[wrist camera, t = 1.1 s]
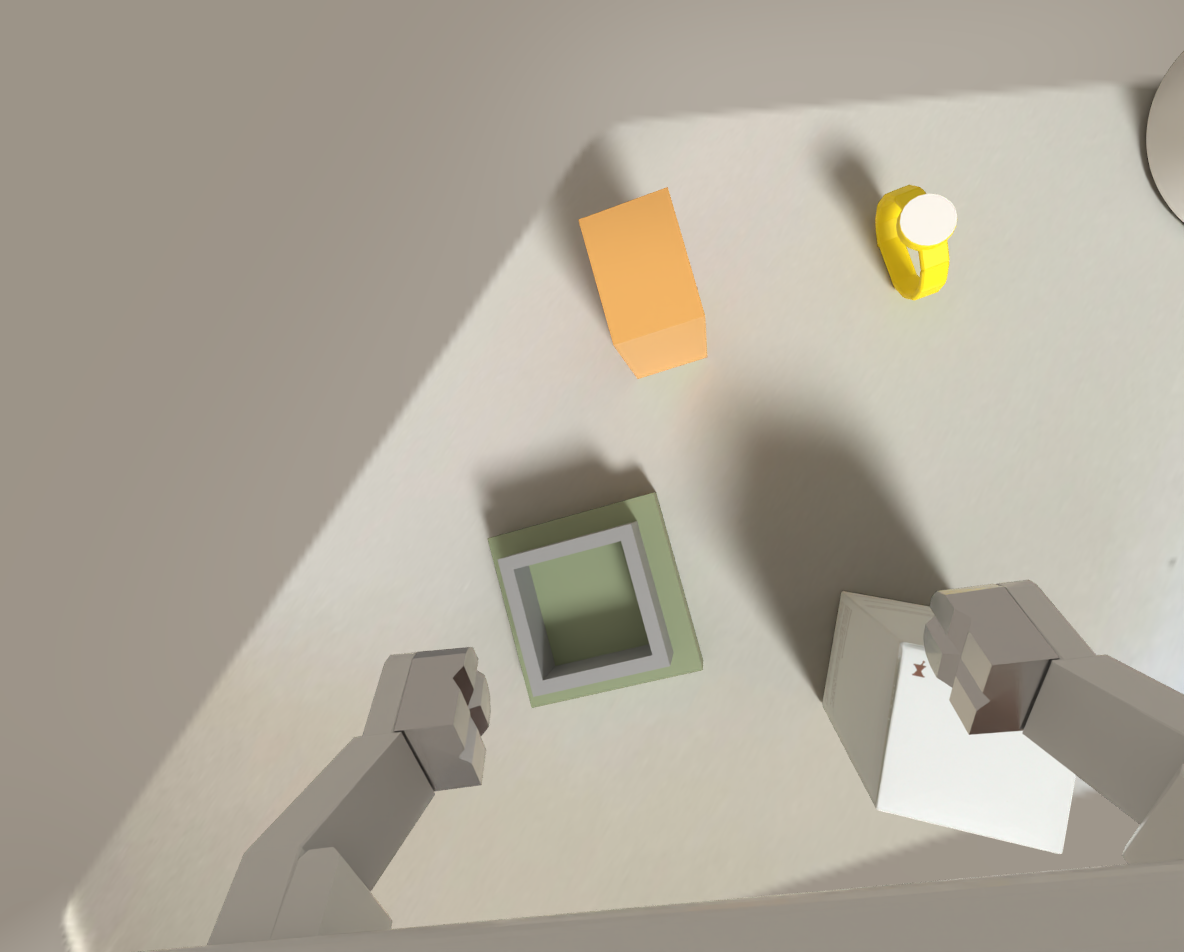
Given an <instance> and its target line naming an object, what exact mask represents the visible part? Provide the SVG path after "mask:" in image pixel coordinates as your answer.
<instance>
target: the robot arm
mask: <svg viewBox="0 0 1184 952" xmlns="http://www.w3.org/2000/svg"><path fill="white" fill-rule="evenodd" d="M1146 145H1147V155H1148V161H1149V166H1150V169H1151V173H1152V176H1153V178H1154V181H1155V183H1156V186H1157V188H1158V190H1159V192H1160V193H1161V195H1162V197H1163V198H1164V200H1165V202H1166V203H1167V204H1168V206H1169V207H1170V208H1171V210H1172V211H1173V212H1174V213H1175V214H1176V215H1177V217H1178V218H1179V219H1181V220H1182V221H1183V222H1184V51H1183V52H1182V53H1181V54H1180V56H1179V57H1178V58H1177V59H1176V60H1175V62H1174V63H1173V64H1172V66H1171V67H1170V69H1169V70H1168V72H1167V73H1166V75H1165V76H1164V78H1163V80H1162V82H1161V83H1160V85H1159V87H1158V90H1157V92H1156V94H1155V97H1154V99H1153V102H1152V105H1151V109H1150V113H1149V117H1148V123H1147V134H1146ZM929 607H930V608H931V610H932V612H933V613H934V615H935V616H934V617H933V618H932V619H931V620H930V621H928V622H927V623H926V624H925V630H924V636H923V640H924V647H925V653H926V656H927V659H928V662H929V664H930V666H931V668H932V670H933V672H934V674H935V676H936V677H937V678H938V679H939V680H941V681H943V682H944V683H946V684H947V685H949V686H950V687H952V691H951V695H950V699H949V701H950V703H951V704H952V706H953V708H954V710H955V711H956V713H957V715H958V717H959V718H960V720H961V722H962V724H963V725H964V727H965V729H966V731H967V732H968V734H969V735H973V734H986V733H1000V732H1013V731H1023V732H1022V734H1024V735H1025V736H1026V737H1027V738H1029V739H1030V740H1031V741H1033V742H1034V743H1035V744H1036V745H1038V746H1039V747H1040V748H1042V749H1043V750H1044V751H1045V752H1047V753H1048V754H1049V755H1051V756H1052V757H1053V758H1055V759H1056V760H1057V761H1058V762H1060V763H1061V764H1062V765H1064V766H1065V767H1066V768H1067V769H1069V770H1070V771H1071V772H1073V773H1074V774H1075V775H1076V776H1078V777H1079V778H1080V779H1082V780H1083V781H1084V782H1086V783H1087V784H1088V785H1089V786H1091V787H1092V788H1093V789H1095V790H1096V791H1097V792H1098V793H1100V794H1101V795H1102V796H1104V797H1105V798H1106V799H1108V800H1109V801H1110V802H1111V803H1113V804H1114V805H1115V806H1117V807H1118V808H1119V809H1121V810H1122V811H1123V812H1124V813H1126V814H1127V815H1128V816H1130V817H1131V818H1132V819H1134V820H1135V821H1136V822H1137V823H1139V824H1140V826H1139V828H1138V829H1137V830H1136V832H1135V833H1134V835H1133V836H1132V838H1131V839H1130V841H1129V842H1128V844H1127V845H1126V847H1125V849H1124V852H1123V854H1122V856H1123V858H1124V859H1125V861H1126V862H1127V864H1123V865H1113V866H1101V867H1089V868H1078V869H1067V870H1056V871H1044V872H1033V873H1021V874H1010V875H998V876H987V877H976V878H965V879H953V880H942V881H930V882H920V883H909V884H908V883H907V884H896V885H885V886H873V887H862V888H850V889H839V890H828V891H816V892H805V893H794V894H782V895H771V896H760V897H748V898H737V899H725V900H714V901H703V902H691V903H680V904H669V905H657V906H646V907H635V908H623V909H612V910H601V911H590V912H578V913H567V914H556V915H544V916H533V917H522V918H511V919H499V920H488V921H477V922H465V923H454V924H443V925H432V926H420V927H409V928H398V929H391V926H392V919H391V918H390V916H389V915H388V913H387V912H386V911H385V909H384V908H383V907H382V906H381V904H380V903H379V902H378V901H377V899H376V898H375V897H374V896H373V895H372V893H371V890H372V889H373V887H374V886H375V884H376V883H377V881H378V880H379V878H380V877H381V875H382V874H383V872H384V871H385V869H386V868H387V866H388V865H389V863H390V862H391V860H392V859H393V857H394V856H395V854H396V853H397V851H398V850H399V848H400V847H401V845H402V844H403V842H404V840H405V839H406V837H407V836H408V834H409V833H410V831H411V830H412V828H413V827H414V825H415V824H416V822H417V821H418V819H419V818H420V816H421V815H422V813H423V812H424V810H425V809H426V807H427V806H428V804H429V803H430V801H431V800H432V798H433V797H434V795H435V792H434V791H440V790H448V789H455V788H463V787H471V786H478V785H482V778H483V770H484V762H485V755H486V748H485V746H484V743H483V741H482V738H481V736H482V735H483V733H484V732H485V731H486V730H487V728H488V727H489V722H490V712H491V710H490V693H489V688H488V683H487V680H486V678H485V675H484V674H482V673H481V672H479V671H477V665H478V657H477V655H476V653H475V650H474V648H473V647H466V648H455V649H444V650H433V651H422V652H414V653H404V654H394V655H390V656H389V658H388V659H387V660H386V662H385V663H384V666H383V669H382V673H381V676H380V679H379V683H378V686H377V689H376V692H375V696H374V699H373V702H372V705H371V709H370V712H369V715H368V719H367V722H366V725H365V728H364V732H363V735H362V736H358V737H354V738H353V739H352V740H351V741H350V742H349V743H348V744H347V745H346V746H345V747H344V748H343V749H342V750H341V752H340V753H339V754H338V755H337V756H336V757H335V758H334V759H333V760H332V761H331V762H330V763H329V764H328V765H327V766H326V767H325V768H324V769H323V770H322V772H321V773H320V774H319V775H318V776H317V777H316V778H315V779H314V780H313V781H312V782H311V783H310V784H309V785H308V786H307V787H306V788H305V789H304V791H303V792H302V793H301V794H300V795H299V796H298V797H297V798H296V799H295V800H294V801H293V802H292V803H291V804H290V805H289V806H288V807H287V808H286V809H285V811H284V812H283V813H282V814H281V815H280V816H279V817H278V818H277V819H276V820H275V821H274V822H273V823H272V824H271V825H270V826H269V827H268V828H267V830H266V831H265V832H264V833H263V834H262V835H261V836H260V837H259V838H258V839H257V840H256V841H255V842H254V843H253V844H252V845H251V846H250V847H249V848H248V850H247V851H246V852H245V853H244V855H243V857H242V860H241V862H240V865H239V867H238V870H237V872H236V874H235V877H234V879H233V882H232V884H231V887H230V889H229V892H228V894H227V897H226V899H225V902H224V904H223V906H222V909H221V911H220V914H219V916H218V919H217V921H216V924H215V926H214V929H213V931H212V934H211V936H210V938H209V941H208V943H207V945H206V946H195V947H183V948H172V949H161V950H149V951H138V952H1184V695H1183V694H1182V693H1180V692H1178V691H1176V690H1174V689H1172V688H1170V687H1168V686H1166V685H1164V684H1162V683H1160V682H1158V681H1156V680H1155V679H1153V678H1151V677H1149V676H1147V675H1145V674H1143V673H1141V672H1139V671H1137V670H1135V669H1133V668H1131V667H1130V666H1128V665H1126V664H1124V663H1122V662H1120V661H1118V660H1116V659H1114V658H1112V657H1110V656H1108V655H1096V654H1095V653H1094V651H1093V650H1092V649H1091V648H1090V647H1089V646H1088V644H1087V643H1086V642H1085V641H1084V640H1083V639H1082V637H1081V636H1080V635H1079V634H1078V633H1077V631H1076V630H1075V629H1074V628H1073V627H1072V626H1071V624H1070V623H1069V622H1068V621H1067V620H1066V618H1065V617H1064V616H1063V615H1062V614H1061V613H1060V611H1059V610H1058V609H1057V608H1056V607H1055V605H1054V604H1053V603H1052V602H1051V601H1050V600H1049V598H1048V597H1047V596H1046V595H1045V594H1044V593H1043V591H1042V590H1041V589H1040V588H1039V587H1038V585H1037V584H1035V583H1034V582H1032V581H1030V580H1023V581H1015V582H1006V583H998V584H987V585H979V586H971V587H964V588H956V589H948V590H941V591H936V592H935V593H934V595H933V596H932V598H931V602H930V606H929Z"/></svg>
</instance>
